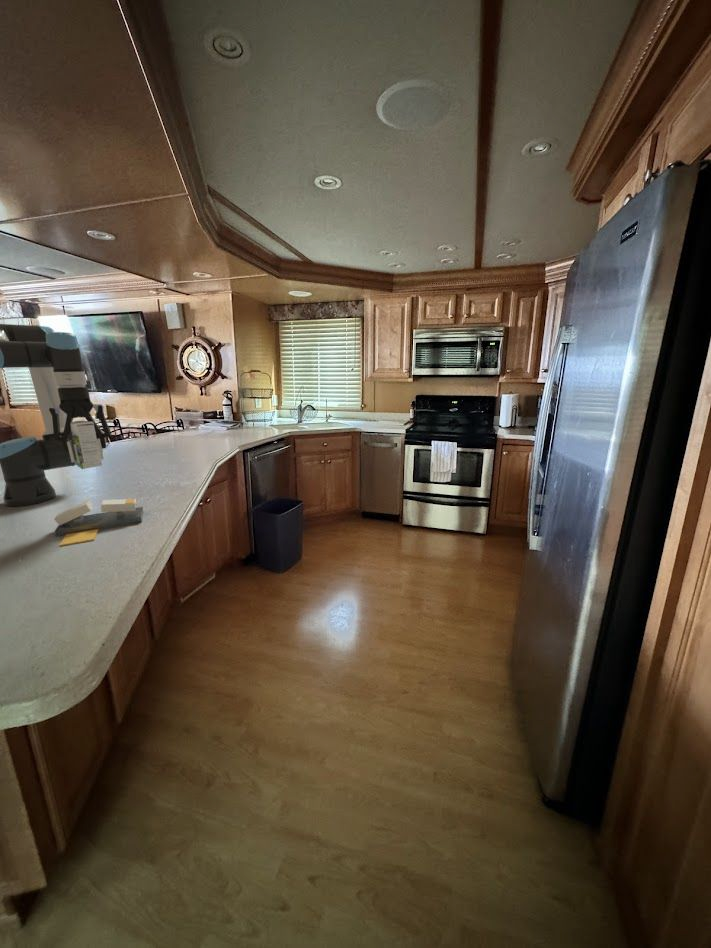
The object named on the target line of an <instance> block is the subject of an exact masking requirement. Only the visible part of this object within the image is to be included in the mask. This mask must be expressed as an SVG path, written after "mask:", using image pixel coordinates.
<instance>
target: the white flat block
mask: <svg viewBox="0 0 711 948" xmlns="http://www.w3.org/2000/svg"><path fill="white" fill-rule="evenodd" d="M93 508H94V504H93V503H92V502H91V500H90V499H87V500H86V501H83V502H81V503H79V504H76V505H74V506H72V507H70V508H67V509H66V510H63V511H61V512H59V513H58V514H56V516H55V517H54V518H53V519H54V521H55V522H56V523H57V526H58V525H59V526H60V525H62V524H64V523H66V522H68V521H70V520H72V519H75V518H77V517H79V516H81V515H83V516H84V515H85V514H87V513H90V512H91V511H92V510H93Z"/></svg>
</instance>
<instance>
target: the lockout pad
mask: <svg viewBox="0 0 711 948" xmlns="http://www.w3.org/2000/svg"><path fill="white" fill-rule="evenodd" d="M99 530H100V529H95V530H89V531H83V532H77V533H71V534H66V535H64V537H63V539H62V540H61V542H60V544H59V547H64V546H70V545H76V544H81V543H87V542H91V541H95V539H96V537H97V535H98V533H99Z"/></svg>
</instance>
